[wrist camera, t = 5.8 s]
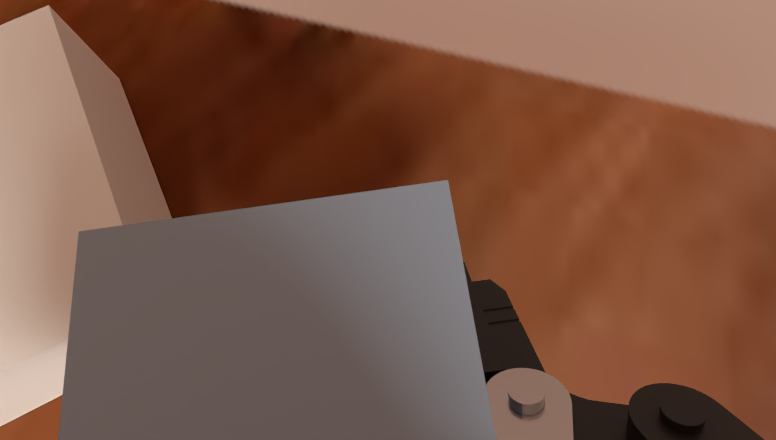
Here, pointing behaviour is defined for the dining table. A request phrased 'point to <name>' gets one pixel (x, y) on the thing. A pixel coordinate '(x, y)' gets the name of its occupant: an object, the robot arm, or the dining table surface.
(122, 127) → the base
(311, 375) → the block
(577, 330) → the dining table surface
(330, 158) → the dining table surface
